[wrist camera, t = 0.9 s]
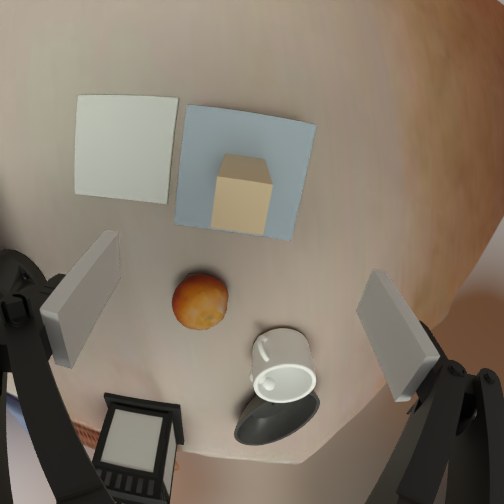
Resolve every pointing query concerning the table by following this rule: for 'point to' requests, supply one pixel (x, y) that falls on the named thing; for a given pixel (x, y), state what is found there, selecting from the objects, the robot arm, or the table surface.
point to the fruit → (200, 301)
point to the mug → (282, 366)
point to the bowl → (274, 419)
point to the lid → (242, 171)
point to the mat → (124, 146)
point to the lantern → (138, 449)
